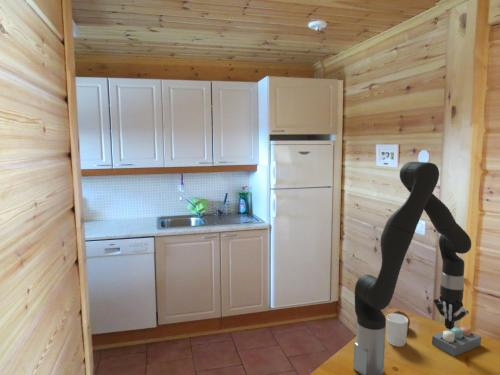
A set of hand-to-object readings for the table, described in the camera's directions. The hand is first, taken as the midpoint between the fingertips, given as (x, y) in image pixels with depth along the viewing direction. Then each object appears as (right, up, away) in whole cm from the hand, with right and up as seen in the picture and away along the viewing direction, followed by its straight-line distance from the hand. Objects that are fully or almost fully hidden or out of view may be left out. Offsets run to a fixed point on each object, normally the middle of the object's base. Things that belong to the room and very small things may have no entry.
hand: (449, 328), depth 134 cm
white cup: (-18, -8, +6) cm, 20 cm away
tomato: (-12, -6, +16) cm, 21 cm away
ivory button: (0, -6, +1) cm, 6 cm away
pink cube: (+9, -6, +5) cm, 12 cm away
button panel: (+4, -8, +3) cm, 9 cm away
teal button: (+4, -6, +3) cm, 8 cm away
